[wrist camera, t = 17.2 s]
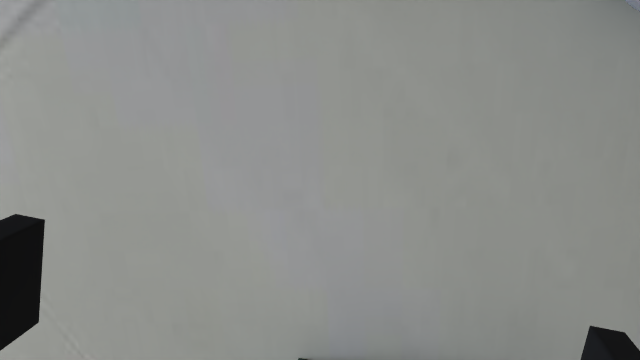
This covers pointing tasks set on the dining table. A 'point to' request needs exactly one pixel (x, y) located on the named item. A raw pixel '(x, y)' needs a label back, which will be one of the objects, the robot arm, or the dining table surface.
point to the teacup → (634, 4)
